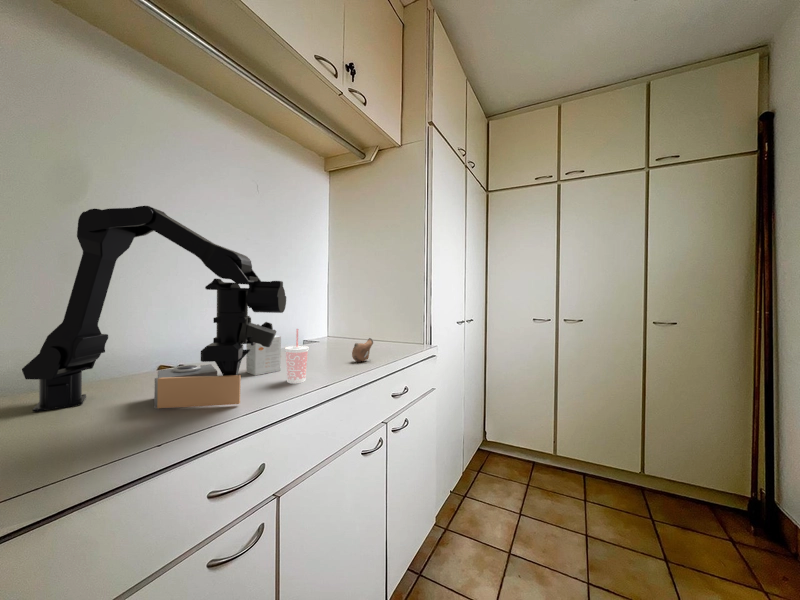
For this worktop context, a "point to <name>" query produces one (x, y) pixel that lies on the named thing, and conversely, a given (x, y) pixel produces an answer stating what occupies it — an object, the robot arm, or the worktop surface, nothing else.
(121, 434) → the worktop surface
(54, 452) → the worktop surface
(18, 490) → the worktop surface
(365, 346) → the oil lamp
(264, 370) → the small box
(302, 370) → the beverage cup
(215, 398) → the side door
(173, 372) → the camera housing
